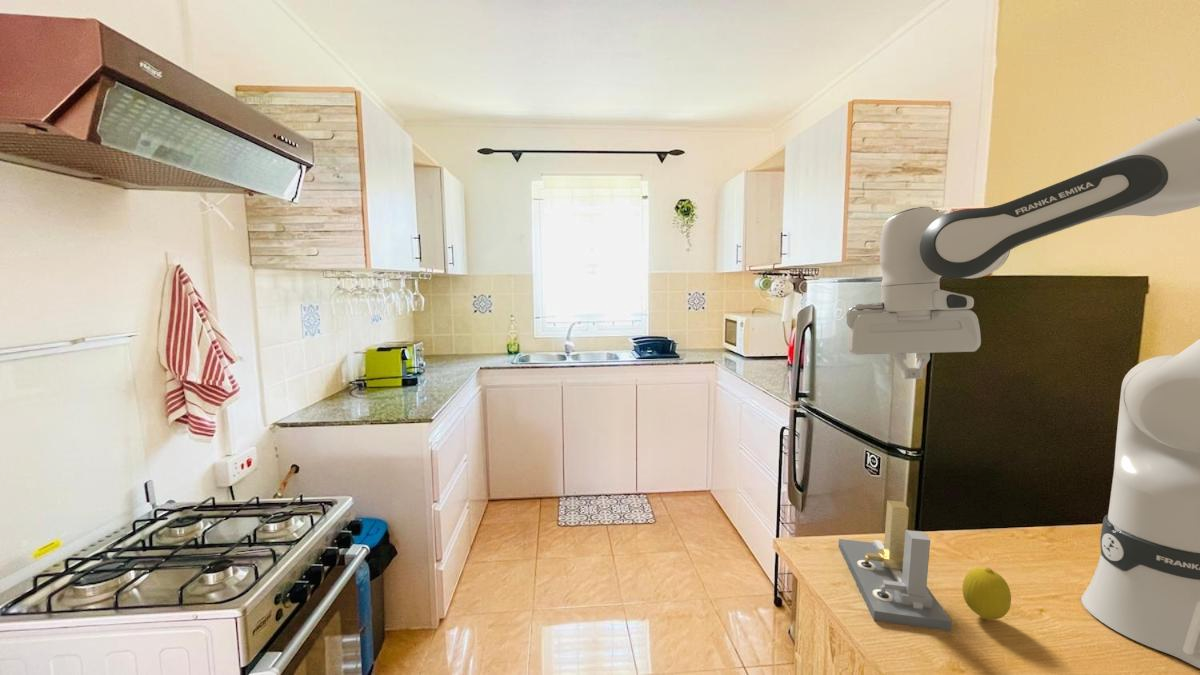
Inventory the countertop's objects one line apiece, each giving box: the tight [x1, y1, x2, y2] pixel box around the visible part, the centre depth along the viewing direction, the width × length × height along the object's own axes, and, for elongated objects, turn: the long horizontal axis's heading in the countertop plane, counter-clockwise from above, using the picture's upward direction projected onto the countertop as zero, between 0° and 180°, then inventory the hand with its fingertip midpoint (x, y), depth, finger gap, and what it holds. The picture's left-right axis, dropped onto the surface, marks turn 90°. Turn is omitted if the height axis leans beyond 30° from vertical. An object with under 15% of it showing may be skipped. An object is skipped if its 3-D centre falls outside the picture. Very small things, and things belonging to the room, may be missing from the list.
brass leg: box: [865, 500, 910, 569], centre depth 79 cm, size 6×3×11 cm, turn 77°
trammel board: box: [838, 529, 953, 632], centre depth 77 cm, size 10×20×12 cm, turn 167°
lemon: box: [962, 567, 1012, 620], centre depth 69 cm, size 6×6×8 cm
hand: (911, 378), depth 84 cm, fingers closed
